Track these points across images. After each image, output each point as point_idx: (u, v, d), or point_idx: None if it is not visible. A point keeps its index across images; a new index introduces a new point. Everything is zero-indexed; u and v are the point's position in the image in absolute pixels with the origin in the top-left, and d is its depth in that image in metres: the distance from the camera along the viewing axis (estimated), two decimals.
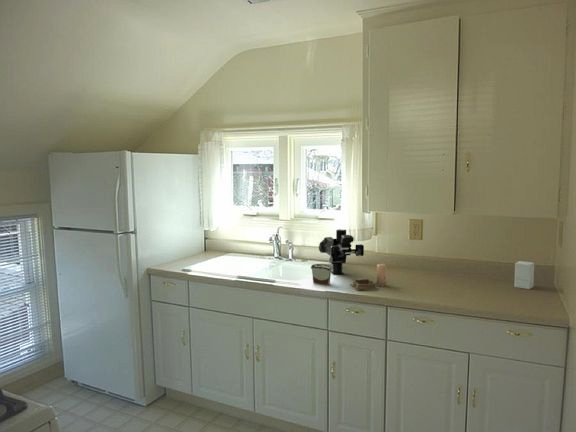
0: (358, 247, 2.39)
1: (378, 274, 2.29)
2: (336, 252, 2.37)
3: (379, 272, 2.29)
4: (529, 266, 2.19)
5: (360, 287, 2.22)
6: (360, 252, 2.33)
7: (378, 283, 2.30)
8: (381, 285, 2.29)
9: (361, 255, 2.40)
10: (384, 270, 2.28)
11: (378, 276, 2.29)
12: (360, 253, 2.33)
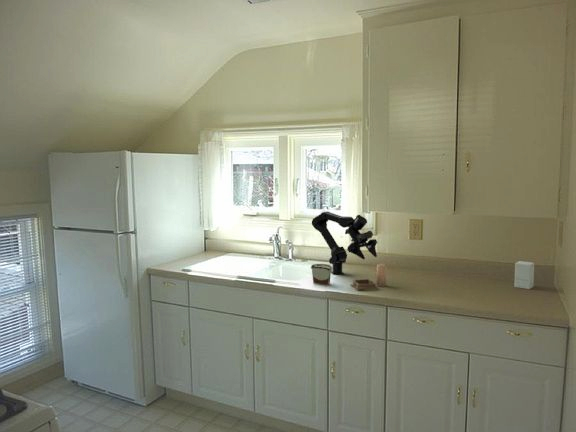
0: (373, 245, 2.41)
1: (378, 274, 2.29)
2: (355, 250, 2.36)
3: (379, 272, 2.29)
4: (529, 266, 2.19)
5: (360, 287, 2.22)
6: (376, 256, 2.39)
7: (378, 283, 2.30)
8: (381, 285, 2.29)
9: None
10: (384, 270, 2.28)
11: (378, 276, 2.29)
12: (376, 256, 2.39)
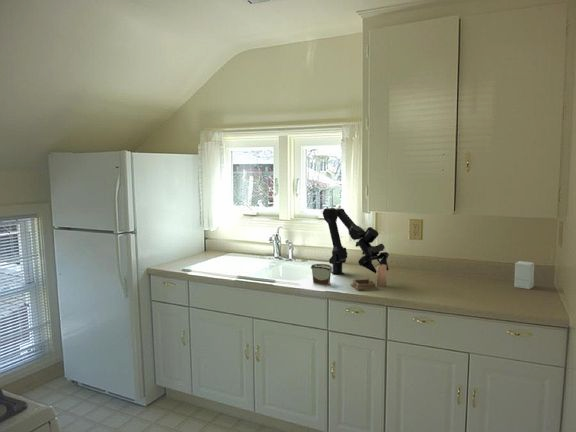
0: (385, 258, 2.35)
1: (378, 274, 2.29)
2: (366, 263, 2.30)
3: (379, 272, 2.29)
4: (529, 266, 2.19)
5: (360, 287, 2.22)
6: (388, 269, 2.33)
7: (378, 283, 2.30)
8: (381, 285, 2.29)
9: None
10: (384, 270, 2.28)
11: (378, 276, 2.29)
12: (387, 270, 2.33)
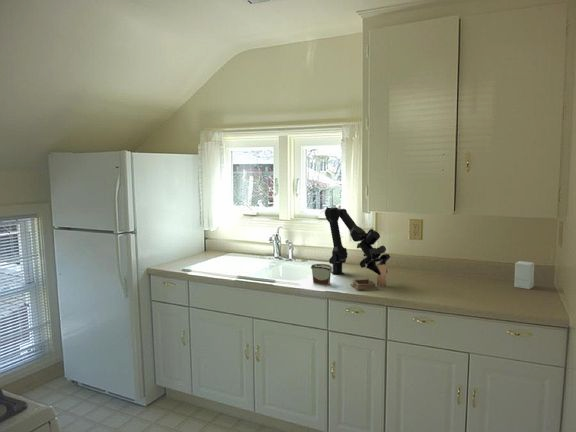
0: (384, 261, 2.33)
1: None
2: (370, 265, 2.30)
3: None
4: (529, 266, 2.19)
5: (360, 287, 2.22)
6: None
7: (378, 283, 2.30)
8: (381, 285, 2.29)
9: None
10: (384, 270, 2.28)
11: (378, 276, 2.29)
12: (386, 272, 2.31)
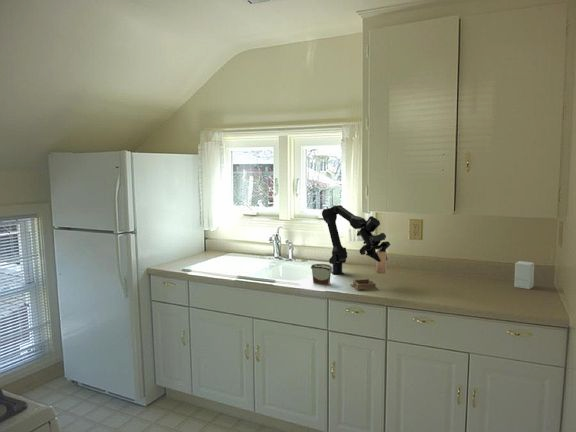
0: (384, 248, 2.33)
1: None
2: (370, 252, 2.29)
3: None
4: (529, 266, 2.19)
5: (360, 287, 2.22)
6: None
7: (378, 270, 2.29)
8: (381, 272, 2.28)
9: None
10: (384, 257, 2.28)
11: (378, 263, 2.29)
12: (386, 260, 2.30)
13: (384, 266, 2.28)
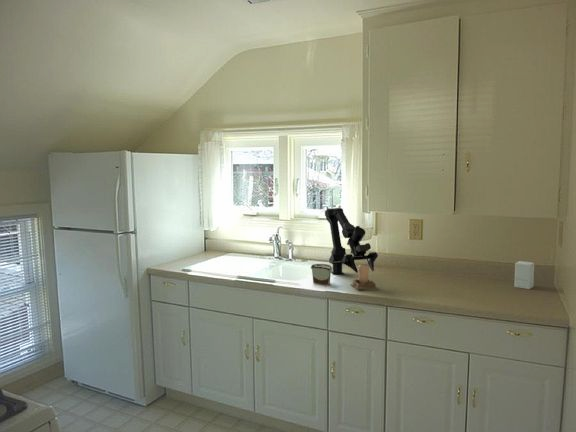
0: (372, 259, 2.29)
1: (359, 274, 2.26)
2: (349, 262, 2.27)
3: (360, 273, 2.25)
4: (529, 266, 2.19)
5: (360, 287, 2.22)
6: (373, 270, 2.27)
7: None
8: None
9: None
10: (365, 271, 2.25)
11: (359, 276, 2.26)
12: None
13: (365, 280, 2.25)
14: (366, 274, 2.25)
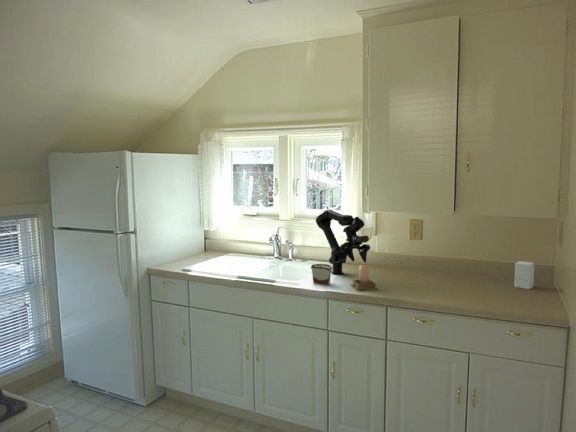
0: (366, 251, 2.41)
1: (360, 274, 2.26)
2: (347, 250, 2.35)
3: (361, 273, 2.25)
4: (529, 266, 2.19)
5: (360, 287, 2.22)
6: (365, 261, 2.39)
7: None
8: None
9: None
10: (365, 271, 2.25)
11: (360, 276, 2.26)
12: None
13: (365, 280, 2.25)
14: (366, 274, 2.25)
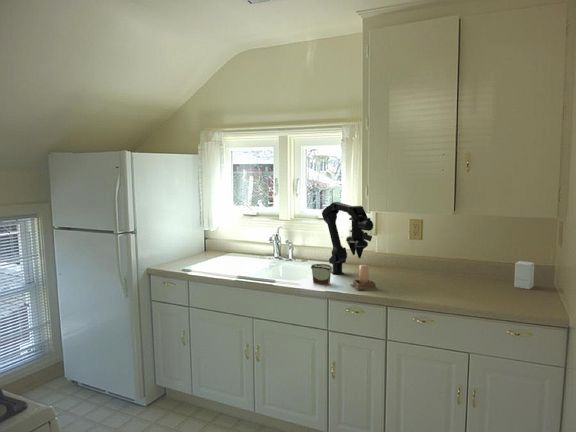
0: None
1: (360, 274, 2.26)
2: None
3: (361, 273, 2.25)
4: (529, 266, 2.19)
5: (360, 287, 2.22)
6: (354, 254, 2.47)
7: None
8: None
9: None
10: (365, 271, 2.25)
11: (360, 276, 2.26)
12: (353, 254, 2.47)
13: (365, 280, 2.25)
14: (366, 274, 2.25)
